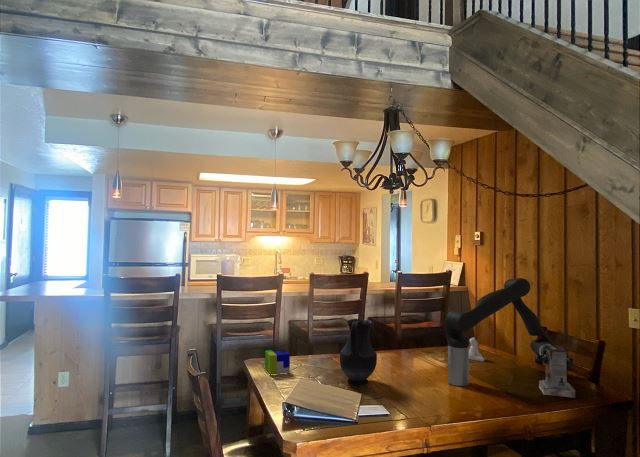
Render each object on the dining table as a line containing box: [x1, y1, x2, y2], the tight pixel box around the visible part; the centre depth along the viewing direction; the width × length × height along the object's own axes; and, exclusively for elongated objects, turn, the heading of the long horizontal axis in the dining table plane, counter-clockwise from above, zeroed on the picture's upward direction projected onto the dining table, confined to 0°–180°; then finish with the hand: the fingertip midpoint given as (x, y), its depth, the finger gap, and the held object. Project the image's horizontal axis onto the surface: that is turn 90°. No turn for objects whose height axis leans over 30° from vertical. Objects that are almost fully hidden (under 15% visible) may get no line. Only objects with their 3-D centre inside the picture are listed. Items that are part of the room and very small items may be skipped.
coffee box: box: [545, 345, 568, 388], centre depth 189 cm, size 9×6×16 cm
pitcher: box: [339, 318, 378, 386], centre depth 200 cm, size 17×21×30 cm
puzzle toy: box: [264, 348, 291, 375], centre depth 216 cm, size 10×10×10 cm
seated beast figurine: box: [468, 337, 485, 363], centre depth 241 cm, size 10×9×12 cm
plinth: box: [538, 379, 576, 399], centre depth 189 cm, size 12×11×3 cm
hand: (557, 363), depth 186 cm, fingers open, 8 cm apart
